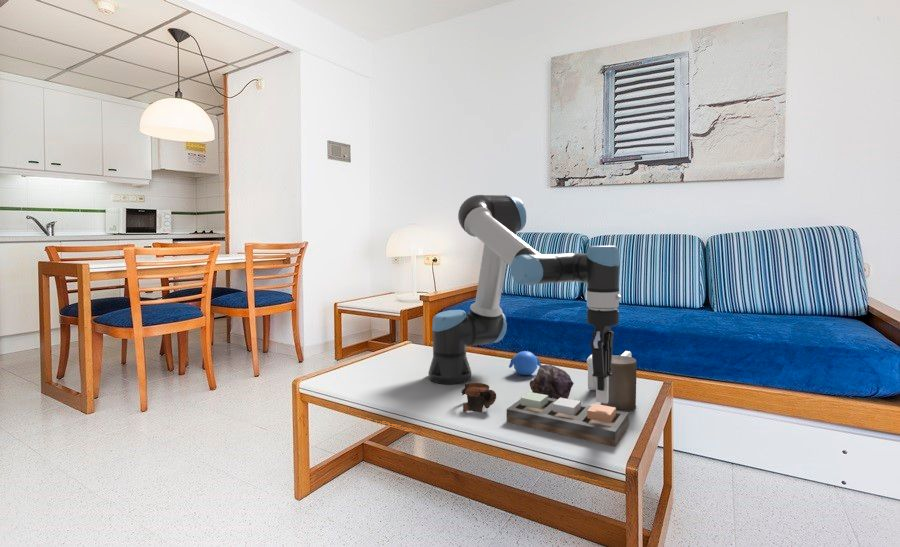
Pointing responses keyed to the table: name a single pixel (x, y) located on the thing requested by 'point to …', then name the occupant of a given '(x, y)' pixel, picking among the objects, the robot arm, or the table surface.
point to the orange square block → (601, 413)
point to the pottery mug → (478, 397)
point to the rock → (552, 382)
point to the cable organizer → (590, 371)
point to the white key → (566, 406)
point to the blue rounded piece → (525, 363)
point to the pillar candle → (622, 383)
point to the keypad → (570, 422)
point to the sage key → (534, 400)
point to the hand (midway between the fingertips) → (602, 401)
